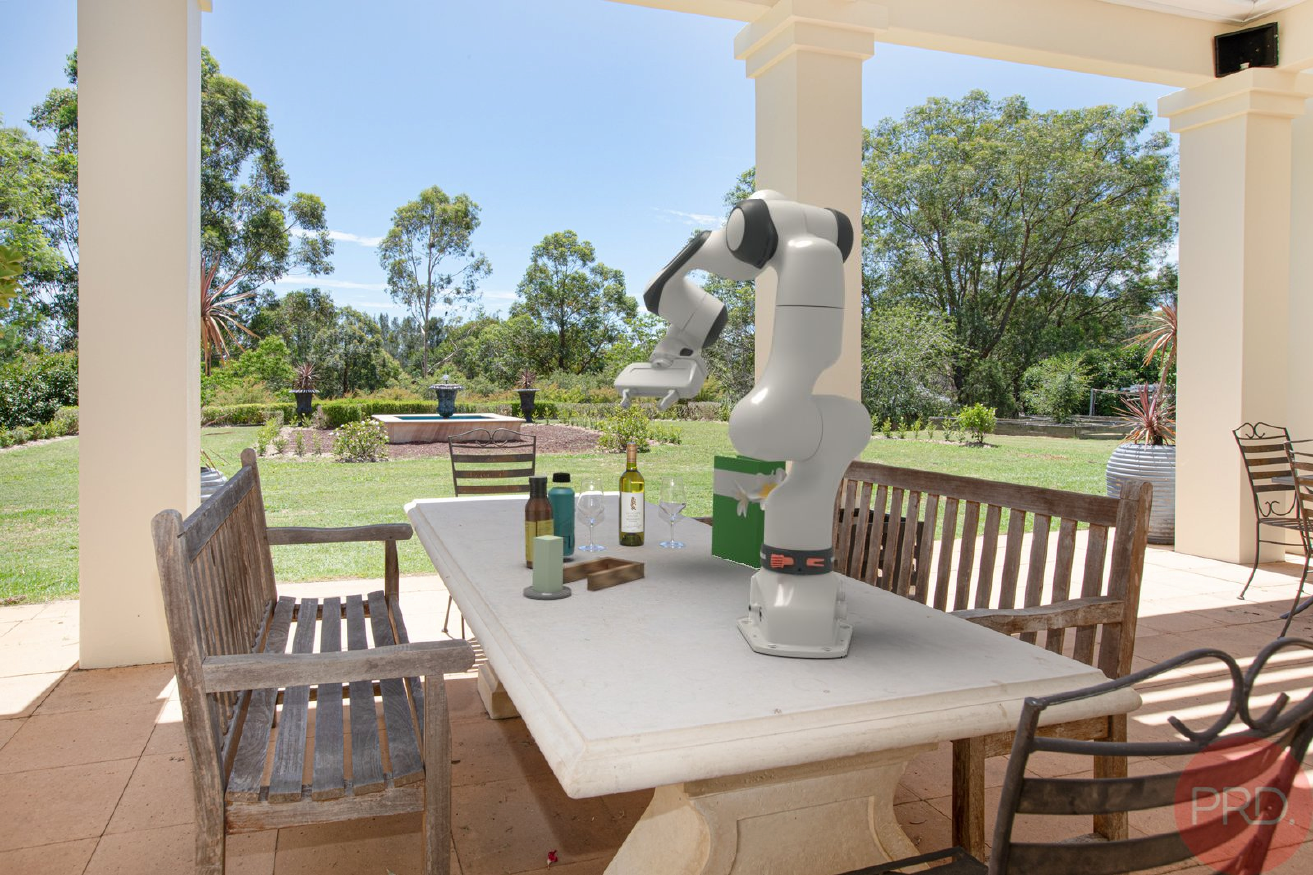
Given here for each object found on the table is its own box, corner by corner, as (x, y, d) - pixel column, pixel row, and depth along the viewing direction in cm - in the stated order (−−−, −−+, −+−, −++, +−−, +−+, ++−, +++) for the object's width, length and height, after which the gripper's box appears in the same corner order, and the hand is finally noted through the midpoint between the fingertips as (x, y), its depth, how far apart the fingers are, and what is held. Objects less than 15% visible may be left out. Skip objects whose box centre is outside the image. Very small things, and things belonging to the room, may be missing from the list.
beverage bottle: (561, 564, 189) (562, 474, 188) (539, 560, 193) (541, 472, 192) (580, 560, 194) (582, 472, 193) (559, 556, 198) (561, 470, 197)
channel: (607, 570, 184) (607, 556, 184) (644, 577, 178) (644, 562, 178) (554, 583, 170) (555, 568, 170) (593, 591, 165) (593, 575, 164)
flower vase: (718, 597, 162) (722, 466, 161) (800, 590, 170) (804, 465, 168) (752, 614, 150) (756, 473, 149) (839, 605, 158) (844, 471, 156)
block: (546, 586, 164) (547, 535, 163) (562, 589, 162) (563, 537, 161) (532, 590, 161) (533, 537, 160) (548, 593, 158) (549, 540, 158)
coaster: (565, 600, 156) (565, 596, 156) (517, 598, 157) (517, 594, 157) (575, 589, 165) (575, 585, 165) (530, 587, 166) (530, 583, 166)
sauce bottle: (556, 564, 189) (558, 475, 188) (550, 570, 183) (552, 478, 181) (527, 563, 189) (529, 474, 188) (520, 568, 183) (522, 477, 182)
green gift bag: (711, 555, 203) (714, 455, 202) (736, 553, 207) (739, 455, 206) (756, 570, 188) (759, 461, 187) (782, 567, 192) (785, 461, 190)
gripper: (626, 351, 187) (596, 395, 179) (704, 351, 175) (676, 398, 167) (637, 372, 191) (609, 416, 183) (715, 373, 179) (688, 420, 171)
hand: (641, 408), depth 175 cm, fingers open, 8 cm apart
